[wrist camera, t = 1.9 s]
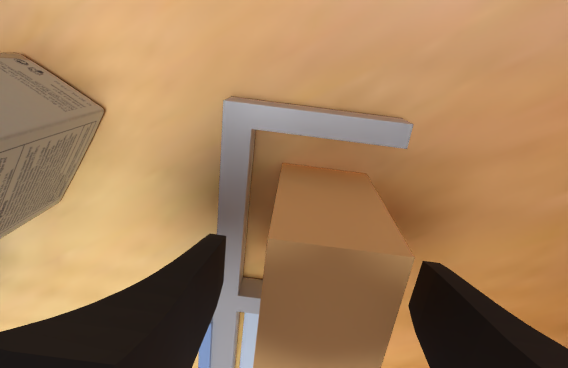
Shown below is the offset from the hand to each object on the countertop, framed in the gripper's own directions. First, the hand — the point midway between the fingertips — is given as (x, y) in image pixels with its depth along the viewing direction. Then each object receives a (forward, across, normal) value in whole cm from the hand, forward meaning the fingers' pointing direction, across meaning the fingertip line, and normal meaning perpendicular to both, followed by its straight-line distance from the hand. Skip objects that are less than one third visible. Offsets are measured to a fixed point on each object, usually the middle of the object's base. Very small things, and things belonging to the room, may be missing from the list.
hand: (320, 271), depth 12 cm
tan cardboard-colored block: (+5, 0, 0) cm, 5 cm away
